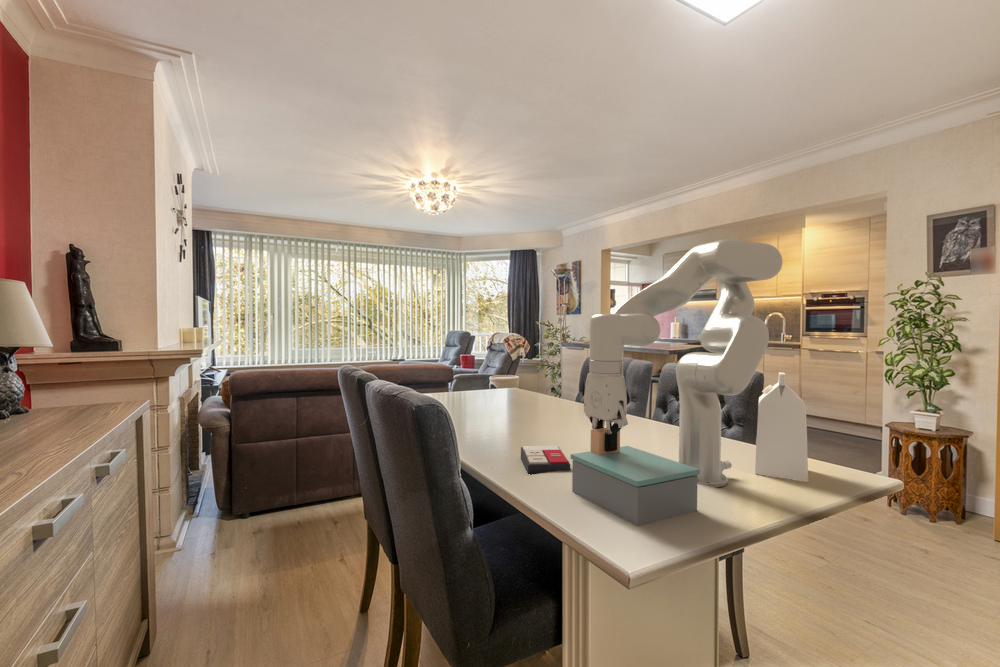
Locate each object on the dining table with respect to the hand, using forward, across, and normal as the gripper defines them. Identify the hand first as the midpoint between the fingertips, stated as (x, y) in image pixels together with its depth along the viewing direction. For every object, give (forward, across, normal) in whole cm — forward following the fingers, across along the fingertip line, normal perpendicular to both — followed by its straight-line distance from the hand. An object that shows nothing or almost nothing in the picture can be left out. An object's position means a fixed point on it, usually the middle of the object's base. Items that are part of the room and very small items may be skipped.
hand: (605, 448), depth 106 cm
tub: (+10, +8, 0) cm, 13 cm away
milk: (+10, +8, +52) cm, 54 cm away
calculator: (+11, -23, -1) cm, 26 cm away
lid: (+2, +9, 0) cm, 9 cm away
